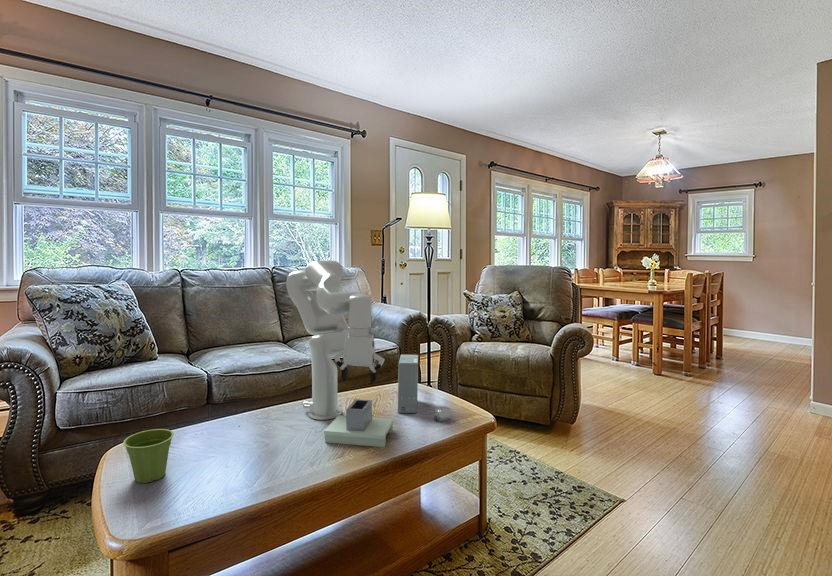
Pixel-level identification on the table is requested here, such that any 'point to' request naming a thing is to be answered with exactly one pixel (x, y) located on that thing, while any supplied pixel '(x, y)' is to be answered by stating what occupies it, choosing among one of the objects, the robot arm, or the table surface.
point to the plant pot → (149, 453)
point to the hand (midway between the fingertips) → (358, 381)
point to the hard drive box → (408, 384)
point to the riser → (359, 432)
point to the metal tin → (442, 414)
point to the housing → (359, 415)
